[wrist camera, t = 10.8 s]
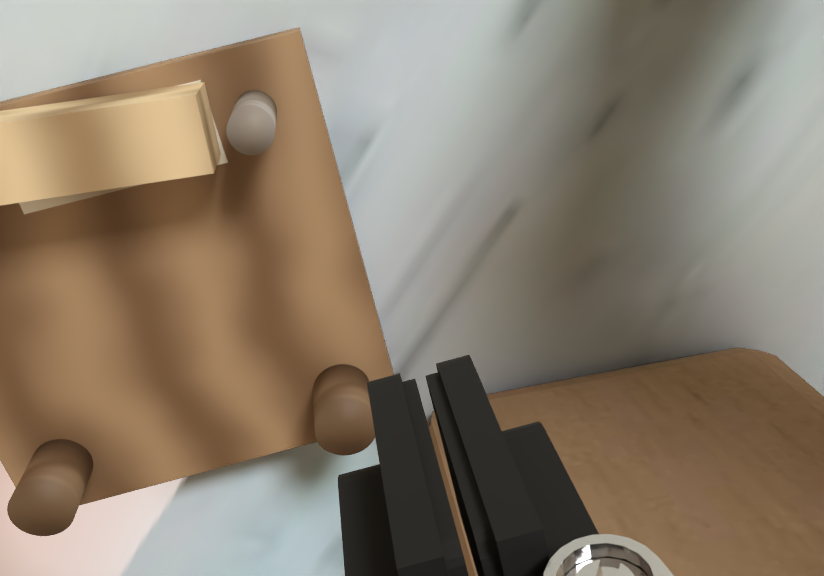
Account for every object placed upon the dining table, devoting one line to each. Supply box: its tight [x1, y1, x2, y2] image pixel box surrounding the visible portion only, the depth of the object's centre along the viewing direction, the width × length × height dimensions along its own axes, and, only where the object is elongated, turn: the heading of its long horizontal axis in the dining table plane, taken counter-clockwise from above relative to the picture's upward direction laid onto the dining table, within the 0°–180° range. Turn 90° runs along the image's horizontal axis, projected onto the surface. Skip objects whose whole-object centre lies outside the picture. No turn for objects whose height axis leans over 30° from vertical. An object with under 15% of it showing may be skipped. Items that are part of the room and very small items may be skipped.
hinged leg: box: [0, 82, 221, 206], centre depth 34 cm, size 10×3×3 cm, turn 97°
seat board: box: [0, 28, 394, 536], centre depth 38 cm, size 22×22×6 cm
